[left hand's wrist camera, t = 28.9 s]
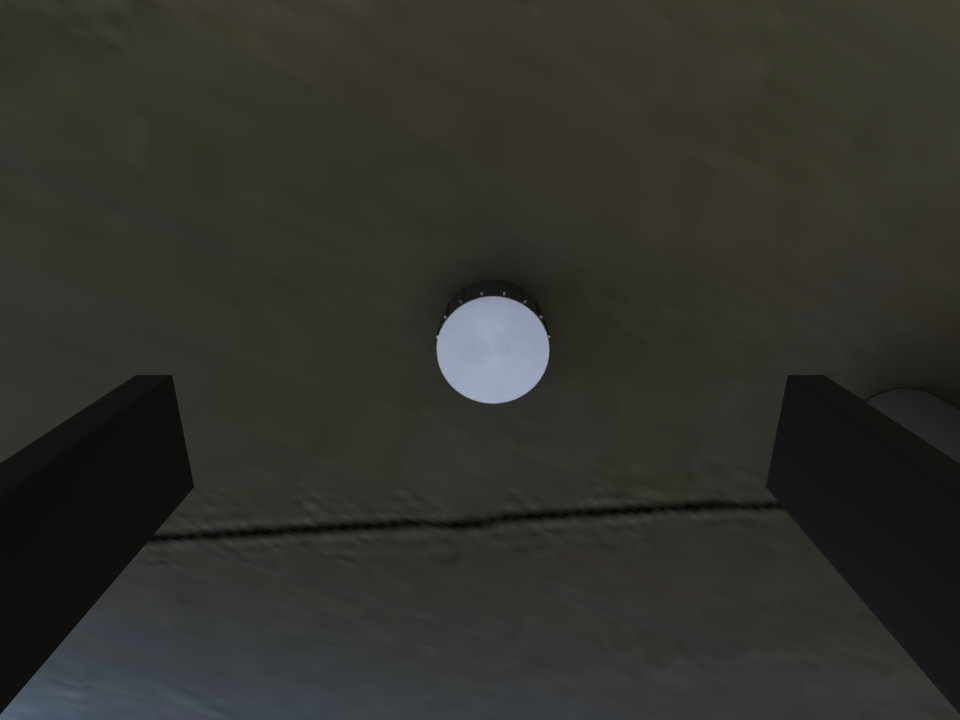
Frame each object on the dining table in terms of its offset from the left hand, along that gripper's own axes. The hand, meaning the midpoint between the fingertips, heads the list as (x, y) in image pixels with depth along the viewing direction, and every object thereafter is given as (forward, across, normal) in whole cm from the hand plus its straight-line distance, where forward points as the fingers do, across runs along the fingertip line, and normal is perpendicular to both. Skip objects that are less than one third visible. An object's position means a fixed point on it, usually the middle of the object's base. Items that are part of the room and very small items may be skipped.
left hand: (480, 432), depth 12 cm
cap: (+7, 0, 0) cm, 7 cm away
